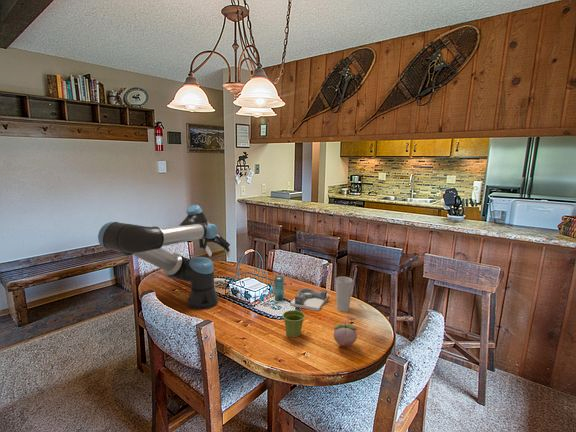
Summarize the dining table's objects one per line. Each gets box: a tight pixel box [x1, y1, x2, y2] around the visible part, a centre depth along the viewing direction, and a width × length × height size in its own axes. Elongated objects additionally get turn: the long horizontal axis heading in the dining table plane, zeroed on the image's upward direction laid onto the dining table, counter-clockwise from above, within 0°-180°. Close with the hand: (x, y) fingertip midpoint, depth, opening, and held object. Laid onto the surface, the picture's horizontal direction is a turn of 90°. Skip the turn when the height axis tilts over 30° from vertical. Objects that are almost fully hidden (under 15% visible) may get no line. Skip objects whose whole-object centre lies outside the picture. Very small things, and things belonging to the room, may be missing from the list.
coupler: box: [274, 275, 285, 302], centre depth 171 cm, size 5×5×12 cm
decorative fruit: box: [332, 322, 358, 347], centre depth 128 cm, size 9×8×10 cm
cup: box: [334, 275, 354, 313], centre depth 159 cm, size 8×8×16 cm
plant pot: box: [282, 309, 306, 338], centre depth 137 cm, size 9×9×9 cm
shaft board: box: [289, 288, 330, 312], centre depth 169 cm, size 18×15×5 cm
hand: (220, 255), depth 194 cm, fingers open, 13 cm apart
